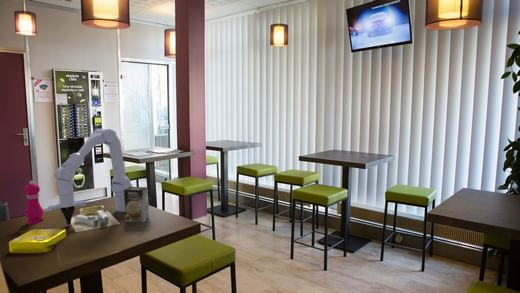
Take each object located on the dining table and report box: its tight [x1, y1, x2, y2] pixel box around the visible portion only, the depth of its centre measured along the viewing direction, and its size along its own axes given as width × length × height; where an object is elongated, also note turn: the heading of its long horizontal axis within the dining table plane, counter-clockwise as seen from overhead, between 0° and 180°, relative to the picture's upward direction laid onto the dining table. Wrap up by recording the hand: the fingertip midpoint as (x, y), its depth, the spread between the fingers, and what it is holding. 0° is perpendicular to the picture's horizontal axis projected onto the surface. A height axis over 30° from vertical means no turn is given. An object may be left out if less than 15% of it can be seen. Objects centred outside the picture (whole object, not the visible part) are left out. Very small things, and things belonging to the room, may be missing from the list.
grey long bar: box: [97, 210, 109, 228], centre depth 168 cm, size 4×17×4 cm, turn 35°
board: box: [70, 210, 121, 233], centre depth 169 cm, size 18×24×1 cm
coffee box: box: [124, 186, 150, 223], centre depth 169 cm, size 9×6×16 cm
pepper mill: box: [24, 180, 44, 226], centre depth 170 cm, size 7×7×20 cm
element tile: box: [8, 228, 67, 254], centre depth 143 cm, size 15×15×5 cm
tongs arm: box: [74, 214, 99, 226], centre depth 164 cm, size 2×14×4 cm, turn 60°
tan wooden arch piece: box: [79, 204, 106, 216], centre depth 177 cm, size 10×5×4 cm, turn 125°
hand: (68, 223), depth 162 cm, fingers closed
